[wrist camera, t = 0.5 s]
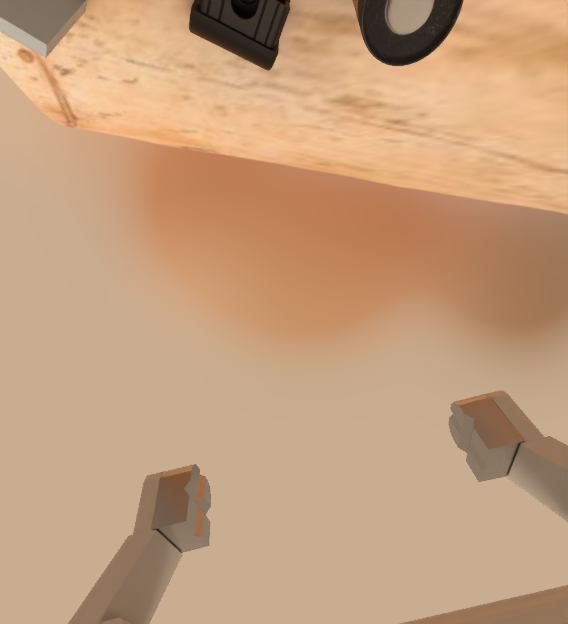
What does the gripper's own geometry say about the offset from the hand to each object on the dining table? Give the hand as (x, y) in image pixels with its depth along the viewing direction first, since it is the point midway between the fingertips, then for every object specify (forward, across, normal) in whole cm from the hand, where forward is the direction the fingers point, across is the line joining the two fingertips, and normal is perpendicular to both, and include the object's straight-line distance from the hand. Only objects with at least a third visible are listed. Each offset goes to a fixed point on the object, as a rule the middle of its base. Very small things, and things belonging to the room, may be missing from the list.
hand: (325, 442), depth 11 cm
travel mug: (+45, -18, -17) cm, 51 cm away
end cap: (+49, -3, -15) cm, 52 cm away
